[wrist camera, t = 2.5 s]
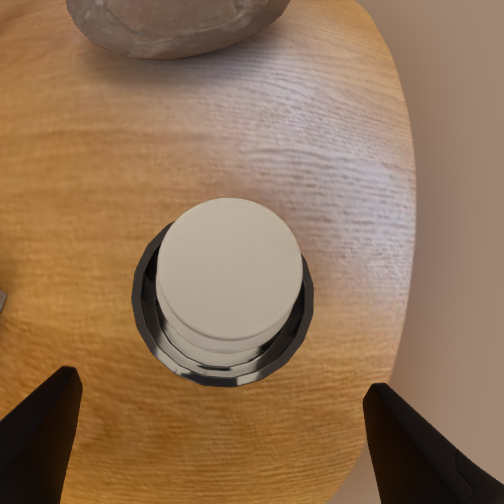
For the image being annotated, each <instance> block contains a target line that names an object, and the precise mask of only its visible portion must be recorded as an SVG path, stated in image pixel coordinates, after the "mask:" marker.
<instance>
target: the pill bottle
mask: <svg viewBox="0 0 504 504" xmlns="http://www.w3.org/2000/svg"><path fill="white" fill-rule="evenodd" d="M302 276H303V264H302V257H301V252H300V248H299V245H298V243H297V240H296V238H295V236H294V235H293V233H292V231H291V230H290V229H289V227H288V226H287V225H286V223H285V222H284V221H283V220H282V219H281V218H280V217H279V216H277V215H276V214H275V213H274V212H273V211H271V210H270V209H268V208H266V207H264V206H263V205H260V204H258V203H256V202H253V201H250V200H246V199H240V198H218V199H212V200H208V201H205V202H202V203H200V204H198V205H196V206H194V207H192V208H190V209H189V210H187V211H186V212H185V213H183V214H182V215H181V216H180V217H179V218H178V219H177V220H176V221H175V222H174V223H173V224H172V226H171V227H170V229H169V230H168V231H167V233H166V235H165V237H164V239H163V241H162V244H161V247H160V250H159V255H158V261H157V275H156V293H157V298H158V301H159V304H160V307H161V310H162V312H163V314H164V316H165V318H166V320H167V321H168V323H169V324H170V325H171V327H172V328H173V329H174V330H175V331H176V332H177V333H178V334H179V335H180V336H181V337H182V338H184V339H185V340H186V341H187V342H189V343H191V344H192V345H194V346H196V347H198V348H201V349H203V350H206V351H209V352H214V353H222V354H231V353H239V352H244V351H248V350H252V349H254V348H257V347H259V346H261V345H263V344H264V343H266V342H267V341H269V340H270V339H271V338H272V337H273V336H274V335H275V334H276V333H277V332H278V331H279V330H280V329H281V328H282V326H283V325H284V324H285V322H286V321H287V319H288V317H289V315H290V312H291V310H292V307H293V304H294V303H295V301H296V299H297V296H298V294H299V291H300V287H301V283H302Z"/></svg>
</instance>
